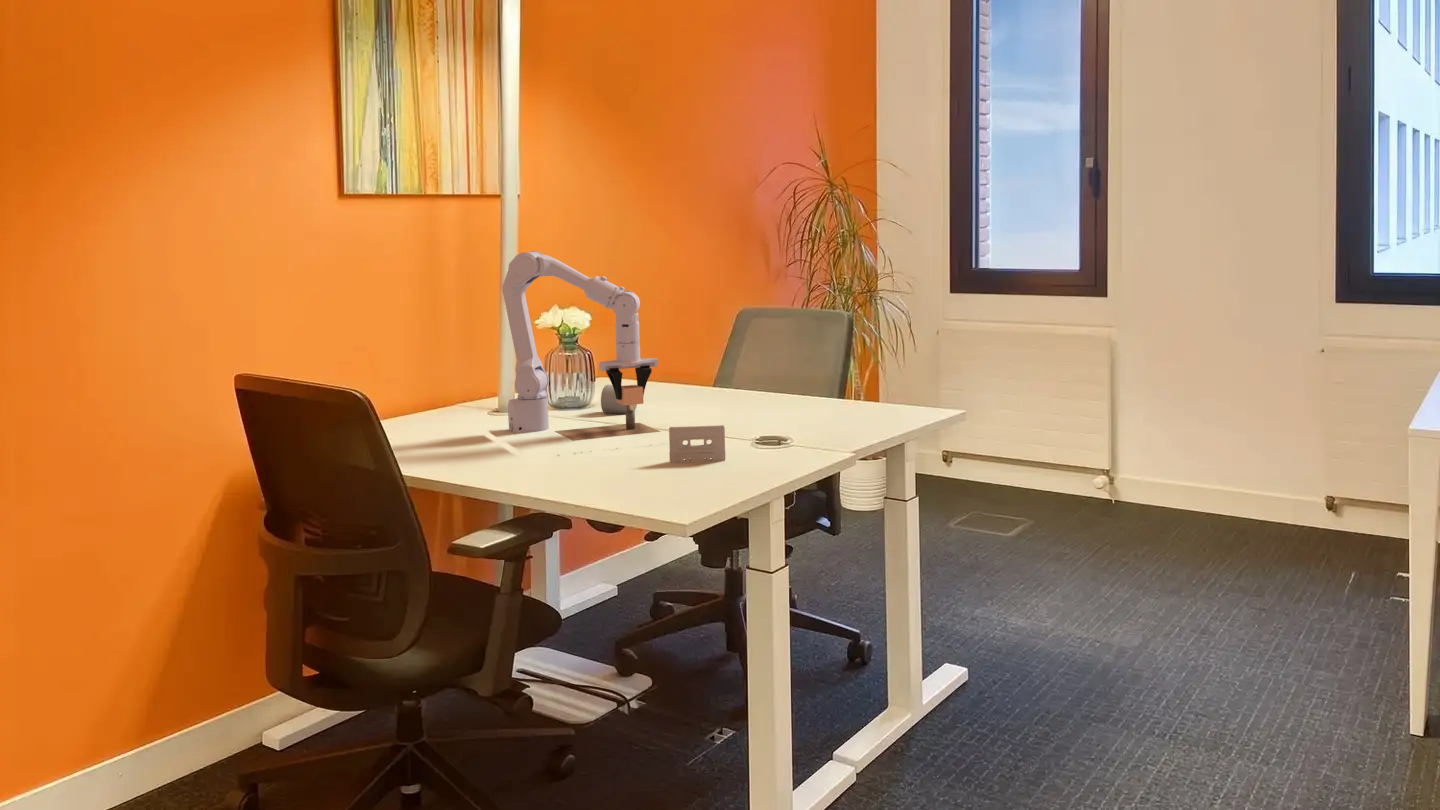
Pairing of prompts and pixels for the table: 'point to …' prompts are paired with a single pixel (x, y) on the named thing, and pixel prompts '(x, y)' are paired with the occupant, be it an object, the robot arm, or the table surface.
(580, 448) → the table surface
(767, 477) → the table surface
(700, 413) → the table surface
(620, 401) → the collar
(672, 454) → the cassette
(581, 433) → the plate
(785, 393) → the table surface
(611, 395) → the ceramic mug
